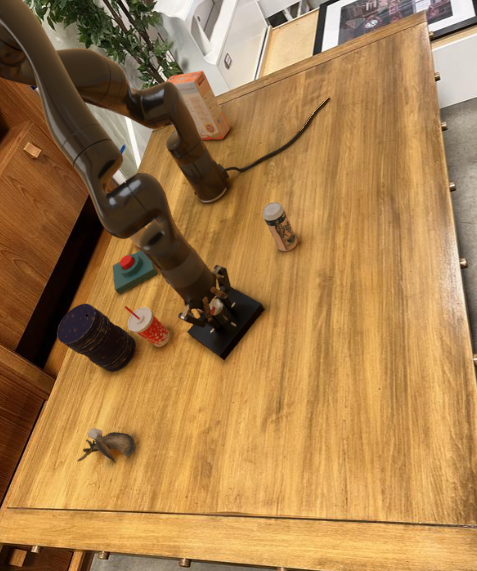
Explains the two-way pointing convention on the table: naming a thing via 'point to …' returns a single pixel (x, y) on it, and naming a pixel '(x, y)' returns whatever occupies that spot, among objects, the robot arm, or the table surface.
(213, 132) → the cracker box
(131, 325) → the beverage cup
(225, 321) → the dial
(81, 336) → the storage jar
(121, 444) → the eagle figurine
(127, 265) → the button
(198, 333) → the control panel
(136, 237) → the candle
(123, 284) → the button block
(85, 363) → the table surface
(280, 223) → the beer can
